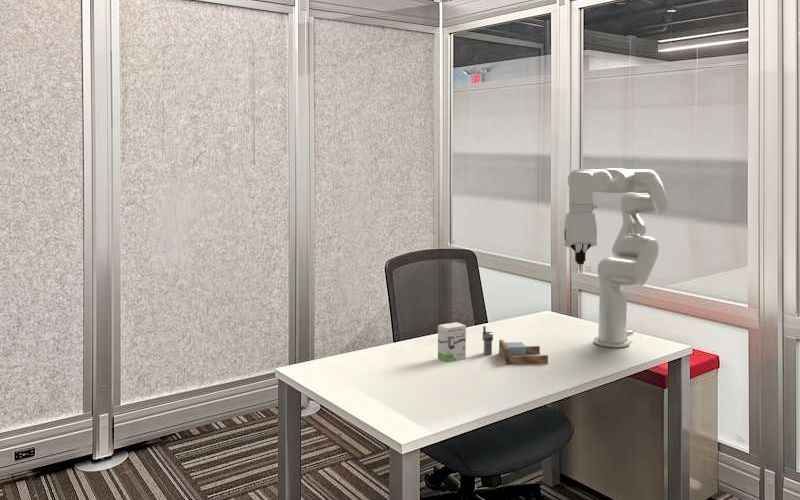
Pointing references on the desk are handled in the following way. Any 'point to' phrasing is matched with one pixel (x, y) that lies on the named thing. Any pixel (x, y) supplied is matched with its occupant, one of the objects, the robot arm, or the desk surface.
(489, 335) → the winch post
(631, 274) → the robot arm
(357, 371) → the desk surface
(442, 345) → the ink box
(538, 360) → the bay
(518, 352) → the blue-grey cube
